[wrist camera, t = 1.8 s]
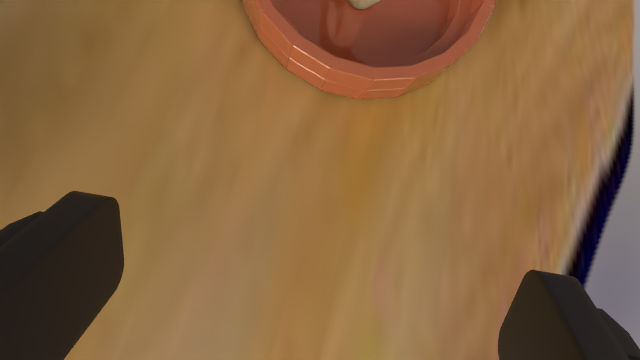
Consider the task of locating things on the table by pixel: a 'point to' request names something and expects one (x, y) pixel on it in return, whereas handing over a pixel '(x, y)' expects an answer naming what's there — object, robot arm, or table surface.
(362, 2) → the grandmother figurine
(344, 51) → the terracotta plant saucer
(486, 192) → the table surface
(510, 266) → the table surface
